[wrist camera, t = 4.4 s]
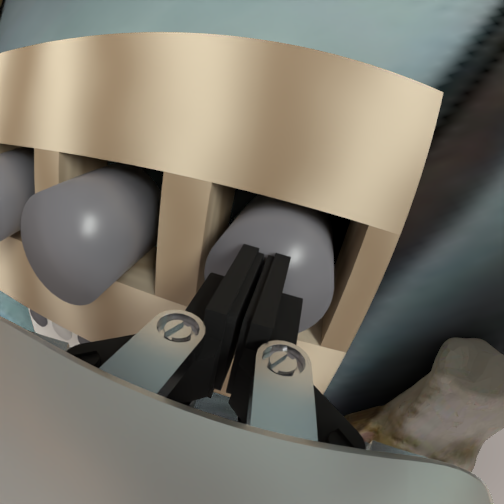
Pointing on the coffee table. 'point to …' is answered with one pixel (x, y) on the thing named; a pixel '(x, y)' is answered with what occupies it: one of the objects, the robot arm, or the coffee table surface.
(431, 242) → the coffee table surface
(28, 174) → the button
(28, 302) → the button board
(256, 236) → the button
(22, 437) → the robot arm
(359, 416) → the ceramic sculpture
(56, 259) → the middle button
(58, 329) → the pattern card
